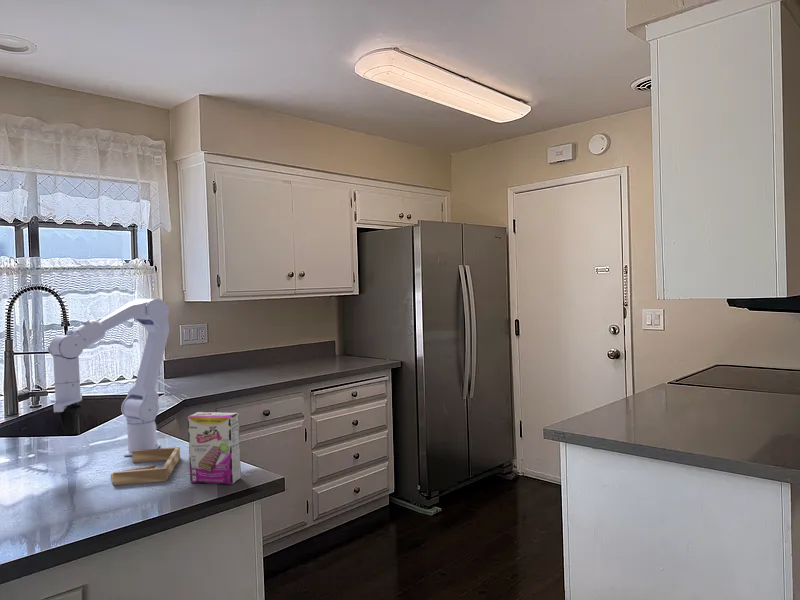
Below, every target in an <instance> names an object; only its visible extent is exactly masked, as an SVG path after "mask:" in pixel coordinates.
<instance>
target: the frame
mask: <svg viewBox="0 0 800 600" xmlns="http://www.w3.org/2000/svg"><path fill="white" fill-rule="evenodd" d="M180 449H181V448H180V446H175V447H163V448H160V447H159V448H158V449H148V450H135V451H133V452H132V454H133V455H132V463H143V462H144V463H147V462H158V461H165V462H164V465H163V467H155V468H154V469H142V470H130V469H129V470H130V471H125V470H121V471H120V470H119V471H113V478H114V483H113V486H123V485H134V484H144V483H145V484H146V483H155V482H156V483H157V482H167V480H168V479H169V478H170V476H171V474H172V472H173V471H174V469H175V467H176V465H177V464H178V462H179V461H180V459H181V450H180Z"/></svg>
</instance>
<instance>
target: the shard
mask: <svg viewBox="0 0 800 600" xmlns="http://www.w3.org/2000/svg"><path fill="white" fill-rule="evenodd" d="M154 468H157V464H155V465H150V466H145V467H144V466H143V467H138V468H137V467H136V468H132V469H125V470H124V471H130V470H142V469H154ZM113 473H114V472H113ZM113 473H111V474H110V478H111V481H112V484H114V478H113Z"/></svg>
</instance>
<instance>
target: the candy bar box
mask: <svg viewBox="0 0 800 600" xmlns="http://www.w3.org/2000/svg"><path fill="white" fill-rule="evenodd" d="M239 415H240V413H239V412H219V411H217V412H215V411H214V412H213V411H211V412H210V411H196V412H194V413H191V414H190V415H188V416H187V429H188V431H187V433H188V435H187V436H188V451H189V452H188V458H189V480H190V481H189V482H190V483H191V484H211V485H212V484H213V485H234V484H235V483H236V482H237V481H239V480H240V479H241V478H242V471H241V469H242V468H241V444H240V442H241V441H240V419H239V418H240V417H239Z"/></svg>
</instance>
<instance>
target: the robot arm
mask: <svg viewBox="0 0 800 600" xmlns="http://www.w3.org/2000/svg"><path fill="white" fill-rule="evenodd" d="M169 312H170V308H169V307H168V305H167V304H166V302H165V301H164V300H162V298H161V299H160V298H136V299H134V300H133V301H130V302H129V301H128V302H127V303H126V304H124V305H123V306H121V307H119V308H118V309H117V310H114V311H113V312H112V313H109V314H108V315H107V316H105V317H103V318H102V319H100V320H95V319H91V320H89V319H86V320H83V321H82V324H81V325H80V326H77V327H76V328H74V329H69V330H66V334H64V335H60V334H59V335H57V336H54V338H52V339H51V340H52V341H50V343H49V346H47V351H48V353H49V354H50V355H51V357H52V359H53V378H54V396H55V397H54V398H52V399H50V403H51V404H53V413H54V414H55V415H56V416H57V418H58V419H59V422H60V423H61V428H62V430H63V433H64V436H65V435H66V436H68V435H74V434H76V431H77V427H78V421H79V417H80V414H81V411H82V410H83V408H84V407H83V406H84V405H83V404H82V403H80V402H82V401H83V393H82V392H81V381H80V380H81V376H80V360H79V359H80V358H79V356H80V355H81V354H82V353H83V350H85V349H87V348H89V347H91V346H92V345H94V344H96V343H97V342H99V341H101V340H103V339H105V336H106V333H107V332H108V331H109V330H111V329H114V328H116V327H117V326H120V325H121V324H123V323H125V322H127V321H130V320H131V319H134V320H135V321H137V322H138V324H139V323H140V324H141V325H142V326H143V328H144V329H145V330H146V332H147V333H148V334H147V336H146V341H145V346H144V349H143V353H142V356H141V360H140V364H139V368H138V373H137V376H136V380H135V383H134V386H133V387H132V388H131V389H129V390H128V391H127V395H126V397H125V399H124V400H123V402H122V403H121V406H120V407H121V408H120V409H121V410H120V411H121V413H122V415H123V416H124V417H125V421H126V430H127V434H126V435H127V449H128V450H126V451H125V453H124V454H123V457H126V456H128V457H131V456H133V454H132V452H133V451H135V450H148V449H159V448H160V446H161V443H160V442H159V443H158V441H157V435H158V434H157V423H156V421H155V420H156V417H157V416H158V414H159V410H160V405H159V400H160V399H159V398H160V396H159V393H158V392H157V390H156V386H157V382H158V378H159V374H160V370H161V366H162V362H163V358H164V353H165V350H166V347H167V341H168V338H169V334H170V323H169V322H170V321H169Z"/></svg>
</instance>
